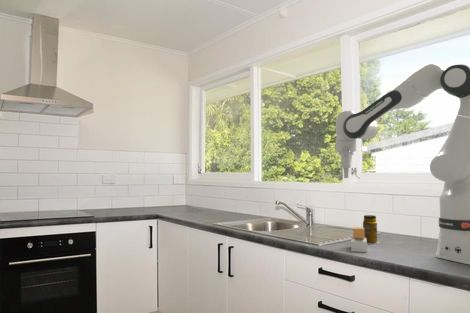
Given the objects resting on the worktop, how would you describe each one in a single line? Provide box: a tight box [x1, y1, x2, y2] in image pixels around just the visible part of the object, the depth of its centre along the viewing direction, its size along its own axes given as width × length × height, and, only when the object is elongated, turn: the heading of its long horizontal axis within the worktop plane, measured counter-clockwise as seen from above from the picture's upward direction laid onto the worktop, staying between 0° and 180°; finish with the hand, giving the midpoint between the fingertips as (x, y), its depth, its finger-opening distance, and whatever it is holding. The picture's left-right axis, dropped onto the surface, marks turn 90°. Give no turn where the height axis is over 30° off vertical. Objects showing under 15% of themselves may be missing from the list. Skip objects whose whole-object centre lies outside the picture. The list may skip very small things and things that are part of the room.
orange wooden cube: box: [352, 226, 364, 239], centre depth 156 cm, size 4×4×4 cm
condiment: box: [362, 214, 382, 245], centre depth 170 cm, size 7×8×12 cm
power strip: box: [350, 236, 368, 253], centre depth 154 cm, size 10×6×4 cm, turn 162°
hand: (346, 178), depth 168 cm, fingers closed
